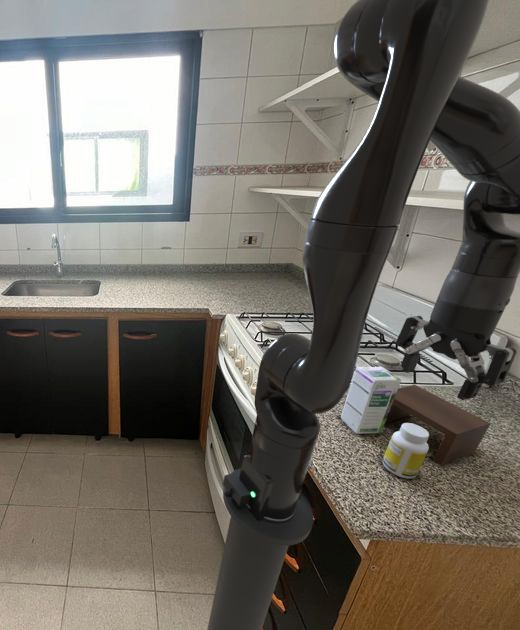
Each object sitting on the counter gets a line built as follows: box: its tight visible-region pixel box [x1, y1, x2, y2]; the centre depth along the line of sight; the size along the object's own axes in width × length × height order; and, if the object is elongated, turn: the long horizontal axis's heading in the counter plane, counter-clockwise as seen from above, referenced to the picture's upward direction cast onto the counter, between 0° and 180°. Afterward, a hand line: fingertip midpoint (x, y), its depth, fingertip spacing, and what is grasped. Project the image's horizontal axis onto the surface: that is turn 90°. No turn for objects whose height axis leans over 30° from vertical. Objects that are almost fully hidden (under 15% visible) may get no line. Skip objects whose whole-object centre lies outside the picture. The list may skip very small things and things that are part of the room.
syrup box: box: [340, 365, 402, 435], centre depth 77 cm, size 6×6×14 cm
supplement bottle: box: [382, 422, 430, 479], centre depth 67 cm, size 5×5×10 cm
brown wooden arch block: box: [385, 384, 492, 466], centre depth 75 cm, size 10×14×8 cm
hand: (433, 384), depth 61 cm, fingers open, 8 cm apart
